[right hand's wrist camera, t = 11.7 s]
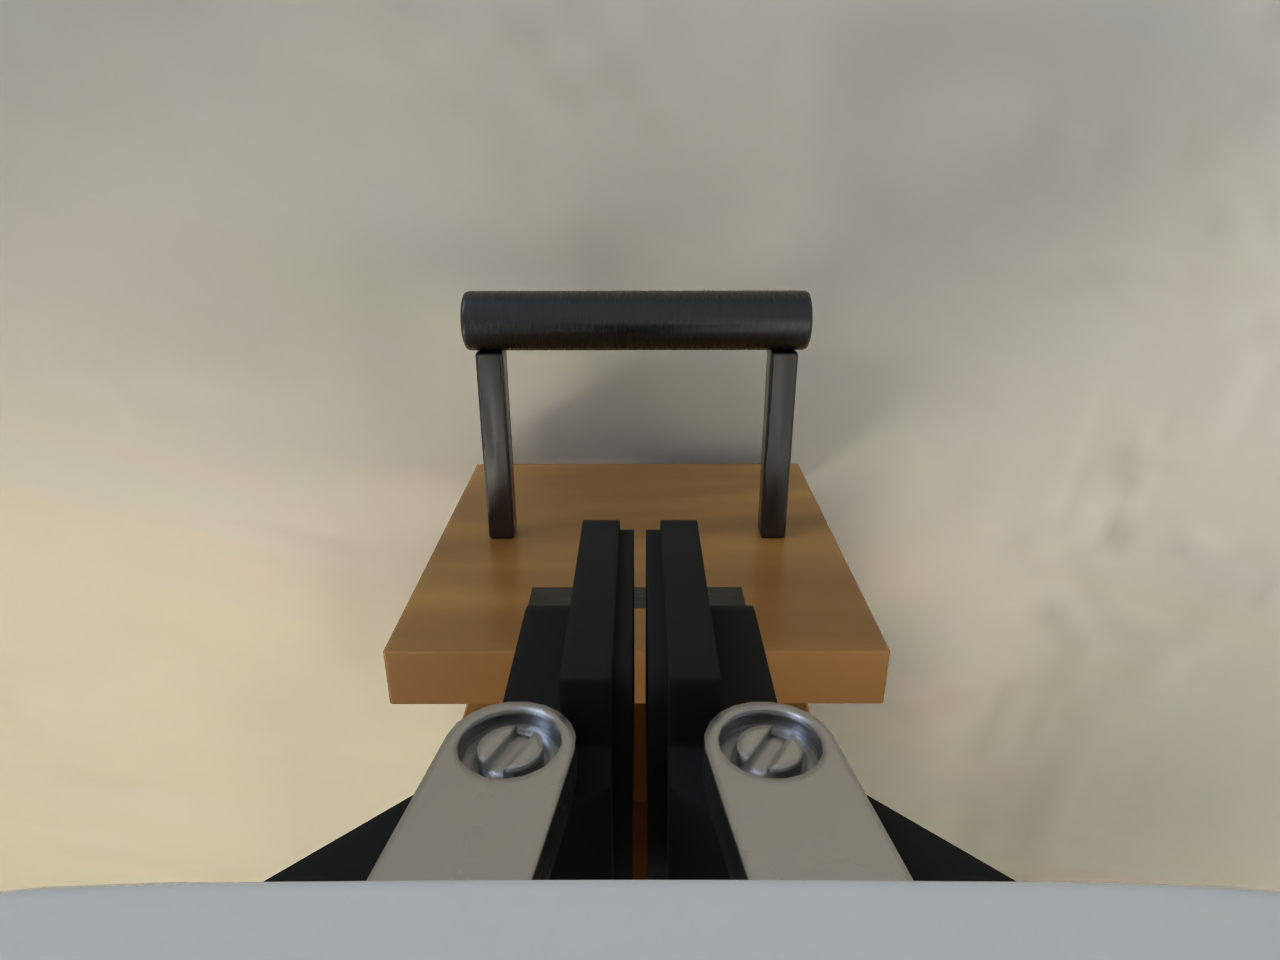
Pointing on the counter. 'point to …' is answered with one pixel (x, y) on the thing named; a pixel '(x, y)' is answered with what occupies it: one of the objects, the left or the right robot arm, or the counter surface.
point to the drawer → (635, 517)
